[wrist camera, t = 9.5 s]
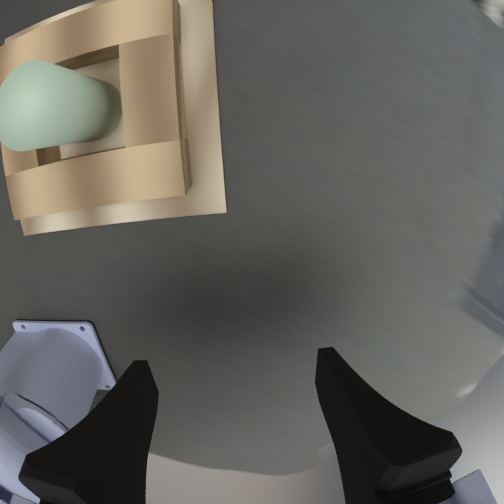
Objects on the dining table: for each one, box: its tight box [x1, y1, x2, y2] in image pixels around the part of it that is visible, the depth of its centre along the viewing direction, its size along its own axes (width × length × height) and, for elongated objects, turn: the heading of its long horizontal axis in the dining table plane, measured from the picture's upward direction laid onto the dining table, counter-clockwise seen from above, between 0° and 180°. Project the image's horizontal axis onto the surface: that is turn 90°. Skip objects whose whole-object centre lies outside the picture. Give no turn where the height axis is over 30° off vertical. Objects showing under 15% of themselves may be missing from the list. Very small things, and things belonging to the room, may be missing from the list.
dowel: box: [0, 60, 122, 151], centre depth 13 cm, size 4×4×8 cm
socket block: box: [0, 0, 227, 236], centre depth 15 cm, size 16×16×3 cm
